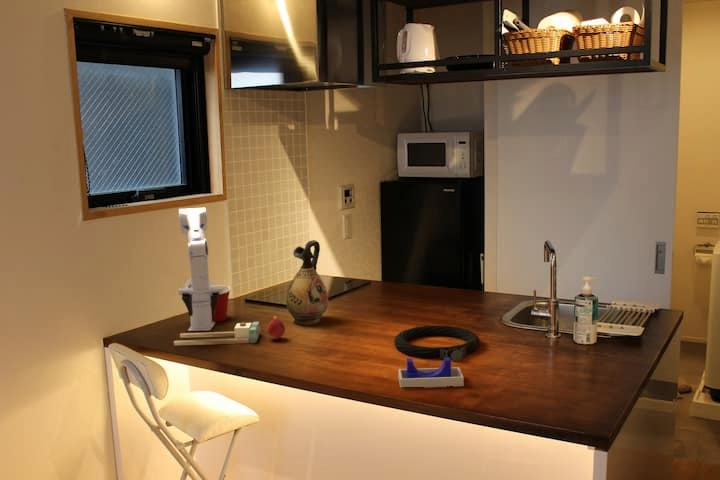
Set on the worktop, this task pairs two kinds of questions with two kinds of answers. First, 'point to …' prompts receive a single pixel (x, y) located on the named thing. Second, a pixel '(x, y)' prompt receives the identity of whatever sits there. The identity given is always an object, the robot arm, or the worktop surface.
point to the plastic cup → (221, 305)
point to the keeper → (242, 330)
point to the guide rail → (253, 334)
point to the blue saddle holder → (441, 372)
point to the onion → (276, 328)
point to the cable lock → (437, 352)
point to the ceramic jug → (307, 288)
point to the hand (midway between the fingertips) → (202, 315)
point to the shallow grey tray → (431, 379)
